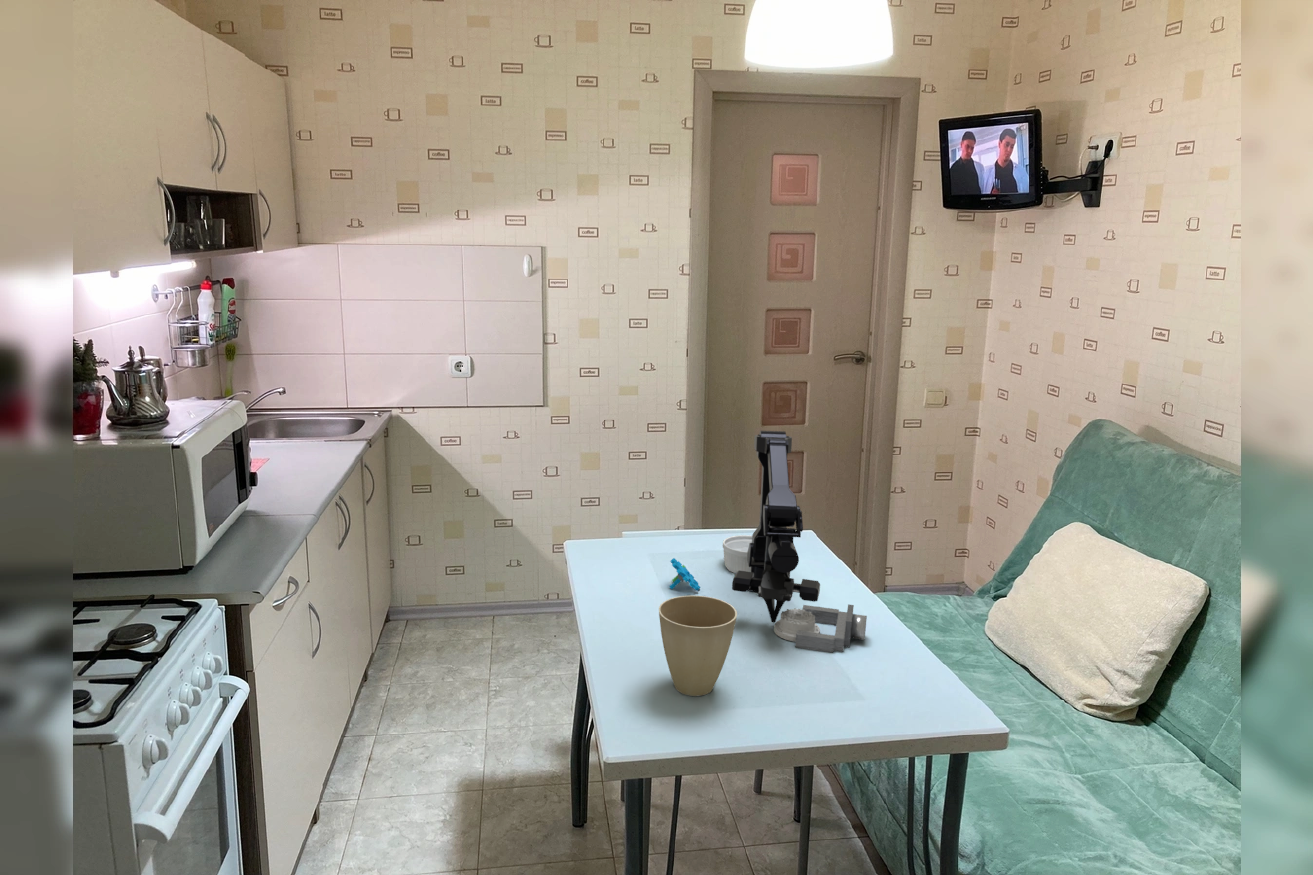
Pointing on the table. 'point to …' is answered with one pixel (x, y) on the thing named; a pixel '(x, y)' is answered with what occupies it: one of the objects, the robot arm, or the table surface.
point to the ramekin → (737, 553)
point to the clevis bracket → (845, 629)
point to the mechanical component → (795, 623)
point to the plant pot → (696, 640)
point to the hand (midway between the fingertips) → (773, 621)
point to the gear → (683, 576)
